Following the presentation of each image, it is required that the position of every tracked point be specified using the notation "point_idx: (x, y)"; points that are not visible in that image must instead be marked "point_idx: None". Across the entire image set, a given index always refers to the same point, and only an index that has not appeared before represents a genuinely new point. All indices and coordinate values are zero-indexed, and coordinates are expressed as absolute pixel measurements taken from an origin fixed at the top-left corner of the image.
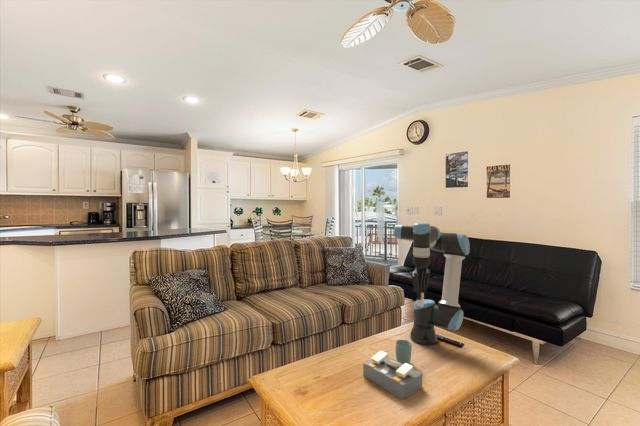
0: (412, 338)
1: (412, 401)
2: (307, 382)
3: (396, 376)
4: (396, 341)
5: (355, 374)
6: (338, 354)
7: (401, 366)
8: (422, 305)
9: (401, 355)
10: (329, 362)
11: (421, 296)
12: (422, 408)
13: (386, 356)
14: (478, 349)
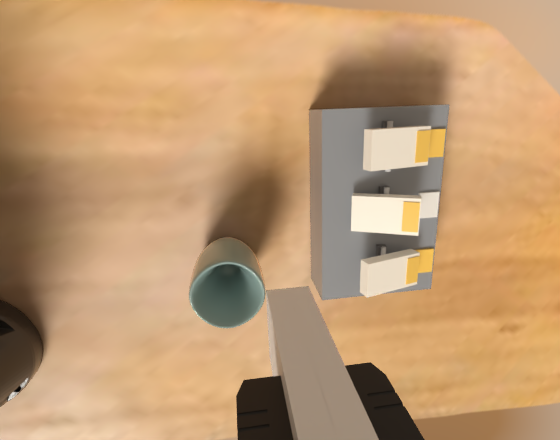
0: (37, 365)
1: (405, 77)
2: (544, 320)
3: None
4: (243, 322)
5: None
6: None
7: (398, 166)
8: (297, 298)
9: (257, 261)
10: (428, 373)
11: (356, 403)
12: (412, 31)
13: (371, 259)
14: None
